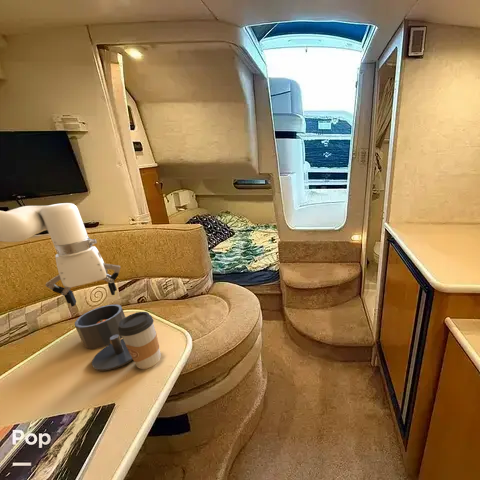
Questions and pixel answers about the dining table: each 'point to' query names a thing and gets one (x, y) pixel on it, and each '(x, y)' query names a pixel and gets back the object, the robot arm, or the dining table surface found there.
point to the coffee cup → (140, 339)
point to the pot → (99, 326)
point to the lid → (112, 355)
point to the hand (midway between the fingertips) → (94, 298)
